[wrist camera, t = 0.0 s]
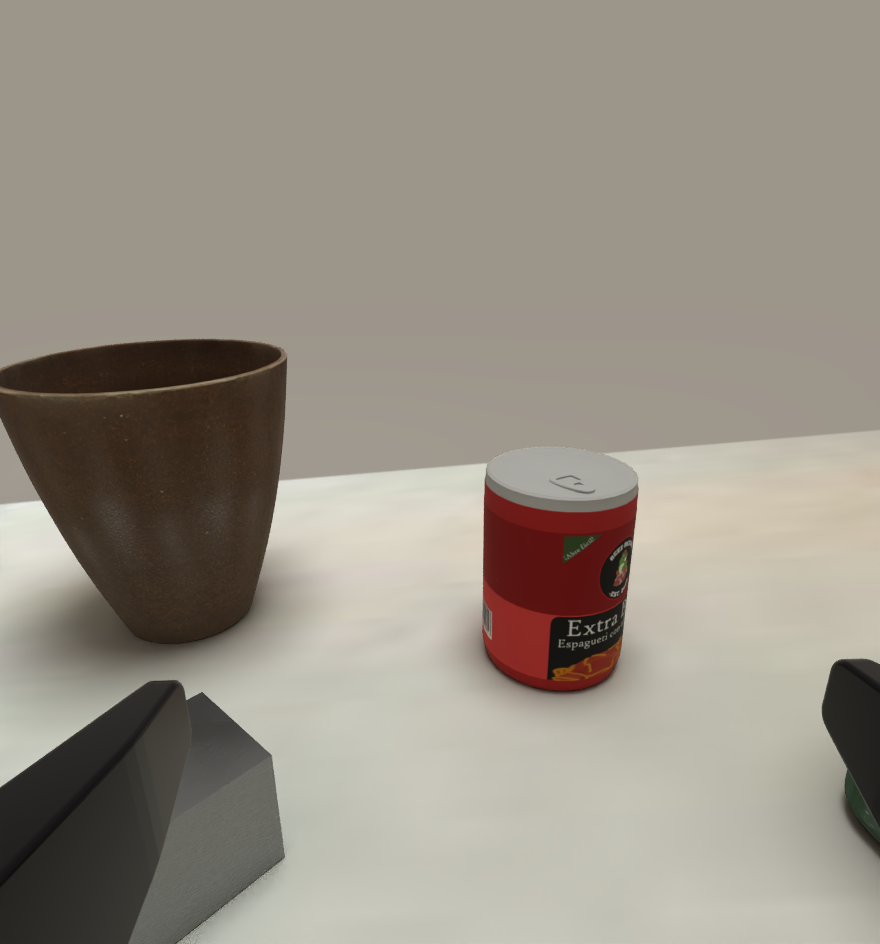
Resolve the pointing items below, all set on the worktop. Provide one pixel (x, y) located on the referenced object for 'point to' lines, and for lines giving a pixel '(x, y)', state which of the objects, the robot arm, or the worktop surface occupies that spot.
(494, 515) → the canned food
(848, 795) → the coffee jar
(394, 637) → the worktop surface
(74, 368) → the plant pot
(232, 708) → the worktop surface
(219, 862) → the grey rectangular metal block
